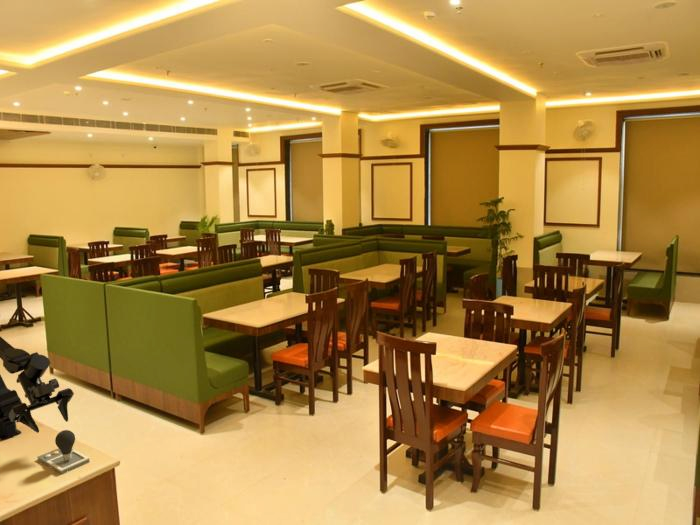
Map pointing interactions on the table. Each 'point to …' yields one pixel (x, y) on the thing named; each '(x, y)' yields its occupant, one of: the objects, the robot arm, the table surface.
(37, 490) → the table surface
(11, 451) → the table surface
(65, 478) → the table surface
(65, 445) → the light bulb
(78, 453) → the indicator board
